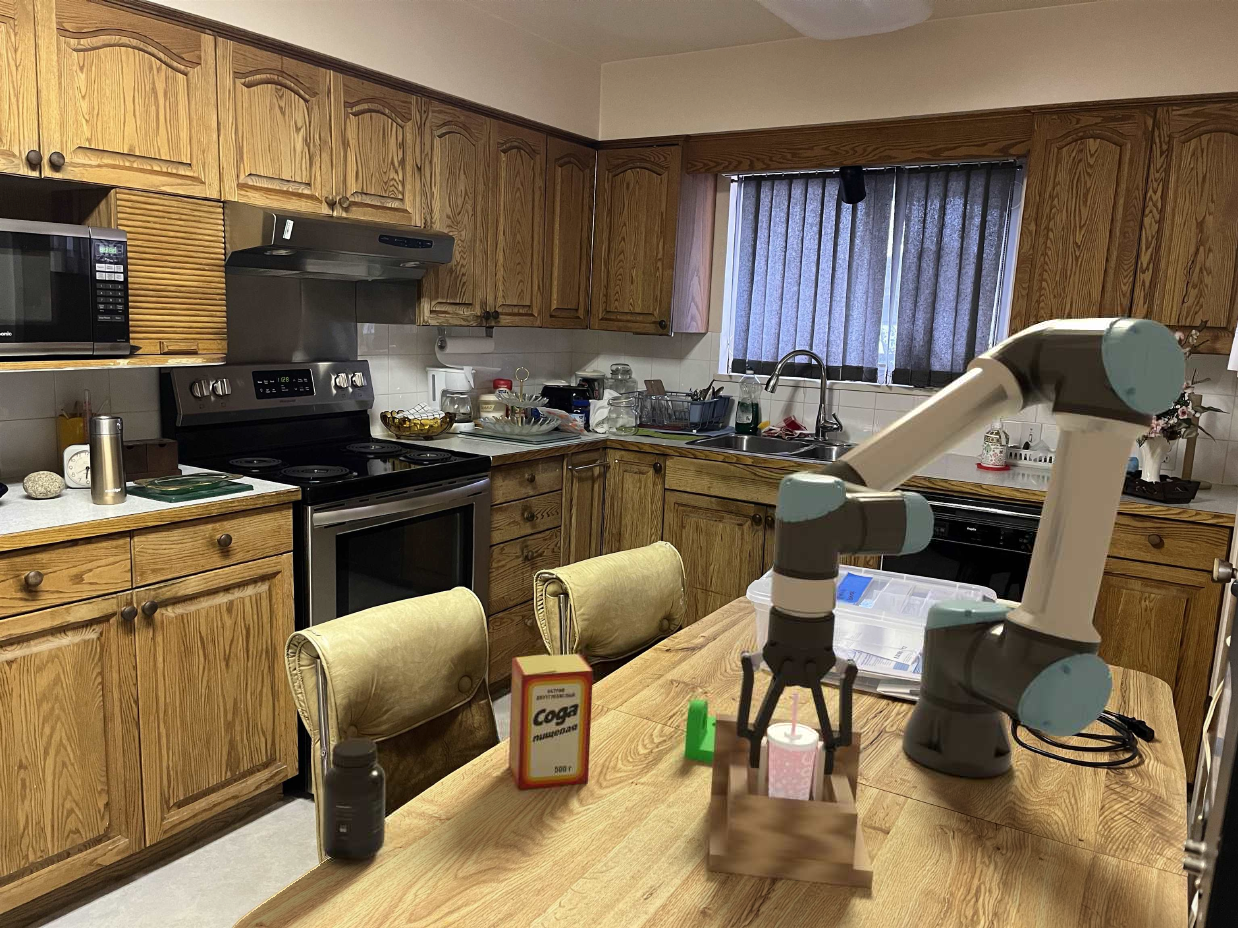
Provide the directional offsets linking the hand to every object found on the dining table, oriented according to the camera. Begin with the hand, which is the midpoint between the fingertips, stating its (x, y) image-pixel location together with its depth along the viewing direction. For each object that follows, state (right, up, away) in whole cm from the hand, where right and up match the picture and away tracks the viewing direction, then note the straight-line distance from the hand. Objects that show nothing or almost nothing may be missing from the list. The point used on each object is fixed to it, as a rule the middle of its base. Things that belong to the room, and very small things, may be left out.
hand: (788, 794), depth 110 cm
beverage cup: (0, -1, 0) cm, 1 cm away
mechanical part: (-6, -3, +27) cm, 27 cm away
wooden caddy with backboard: (0, -6, +1) cm, 6 cm away
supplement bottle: (-51, -4, -5) cm, 51 cm away
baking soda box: (-30, -3, +15) cm, 34 cm away
